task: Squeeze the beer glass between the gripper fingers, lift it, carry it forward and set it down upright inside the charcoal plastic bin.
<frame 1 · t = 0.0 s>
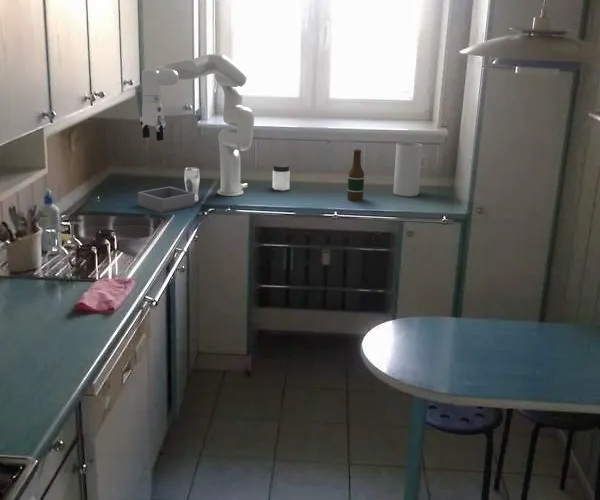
hand: (153, 138, 329), 31 cm above the worktop, tool pointing down, fingers open, 9 cm apart
jar: (280, 189, 382), on the worktop
beer glass: (192, 200, 354), on the worktop
cylinder vase: (405, 194, 378), on the worktop
beer bottle: (354, 199, 365), on the worktop
bin: (166, 205, 344), on the worktop
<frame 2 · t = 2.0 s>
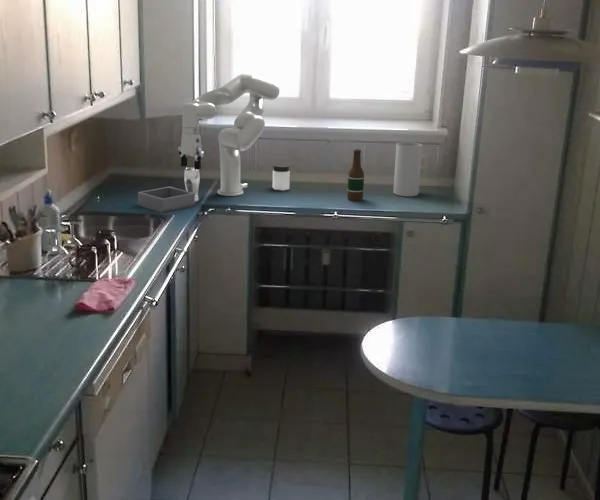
hand: (190, 167, 349), 16 cm above the worktop, tool pointing down, fingers open, 9 cm apart
nothing on the worktop moved.
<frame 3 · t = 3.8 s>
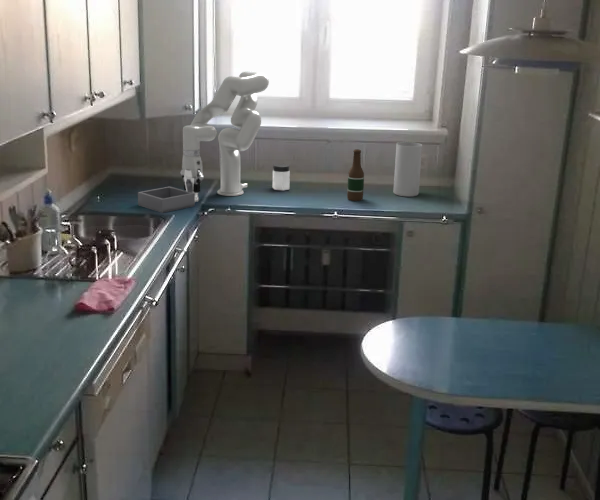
hand: (192, 190, 353), 5 cm above the worktop, tool pointing down, fingers closed on beer glass, 6 cm apart
beer glass: (192, 200, 354), on the worktop, touching gripper
everything else where it was.
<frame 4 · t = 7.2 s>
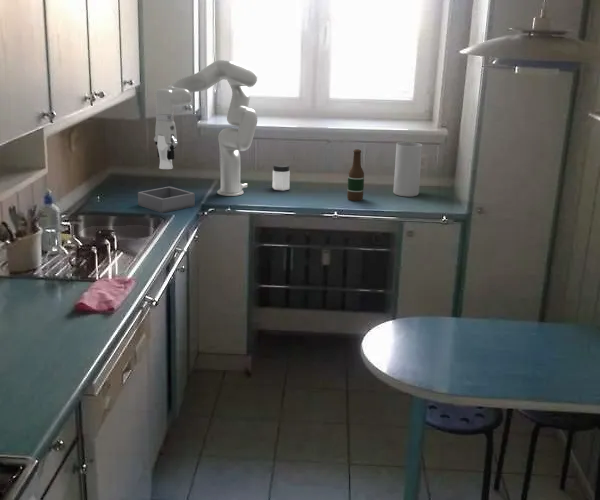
hand: (165, 157, 337), 22 cm above the worktop, tool pointing down, fingers closed on beer glass, 6 cm apart
beer glass: (166, 168, 339), point 17 cm above the worktop, touching gripper
everything else where it was.
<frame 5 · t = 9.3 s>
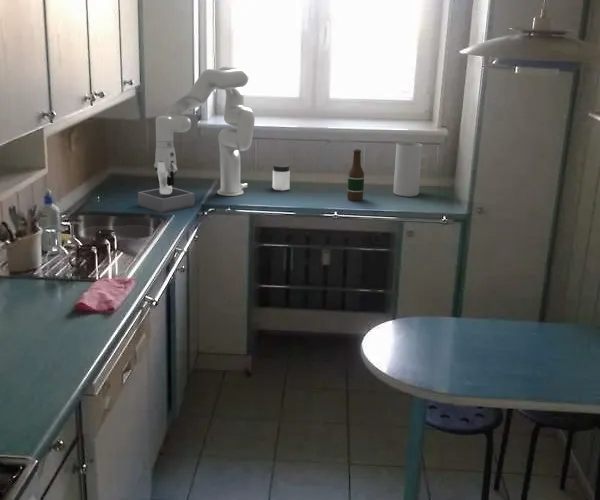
hand: (165, 183, 341), 10 cm above the worktop, tool pointing down, fingers closed on beer glass, 6 cm apart
beer glass: (165, 194, 342), point 5 cm above the worktop, touching gripper
everything else where it was.
when the fingers open (7 cm above the worktop, at t = 10.9 s): beer glass drops 1 cm, resting on bin.
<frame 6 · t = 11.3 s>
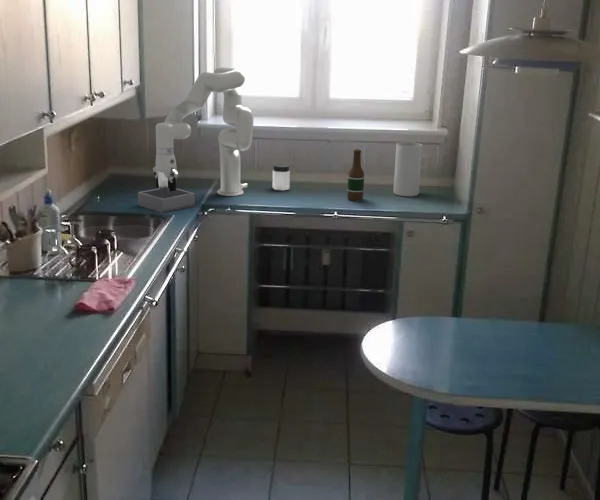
hand: (166, 188, 341), 8 cm above the worktop, tool pointing down, fingers open, 9 cm apart
beer glass: (166, 203, 344), point 1 cm above the worktop, touching bin
everything else where it was.
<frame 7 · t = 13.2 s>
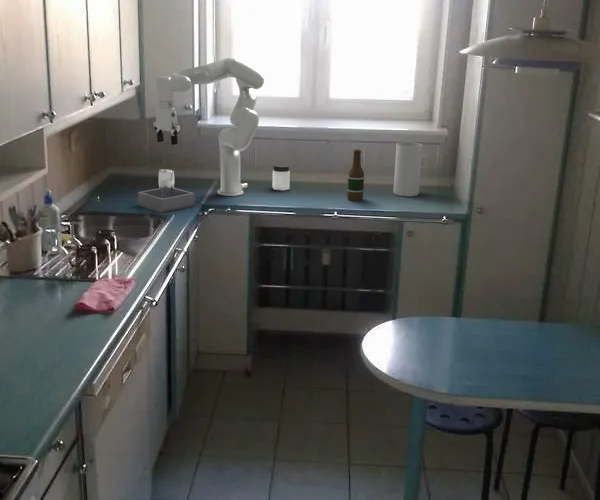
hand: (167, 142, 343), 27 cm above the worktop, tool pointing down, fingers open, 9 cm apart
nothing on the worktop moved.
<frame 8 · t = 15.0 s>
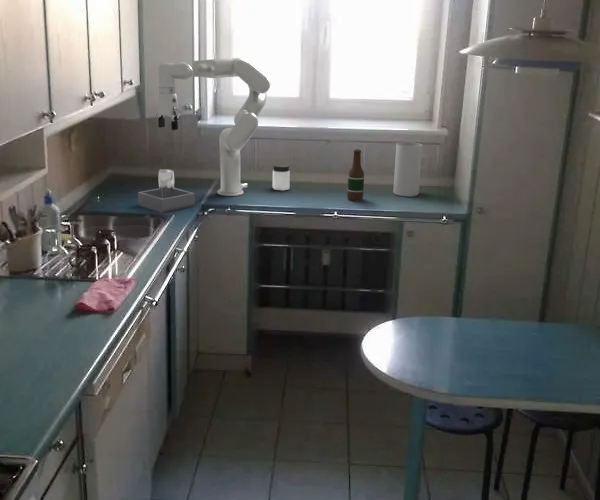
hand: (168, 128, 351), 32 cm above the worktop, tool pointing down, fingers open, 9 cm apart
nothing on the worktop moved.
at the end: beer glass inside the target area on the bin (0.3 cm from its centre), point 0.8 cm above the bin's base; beer glass tilted 0°; the gripper is holding nothing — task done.
